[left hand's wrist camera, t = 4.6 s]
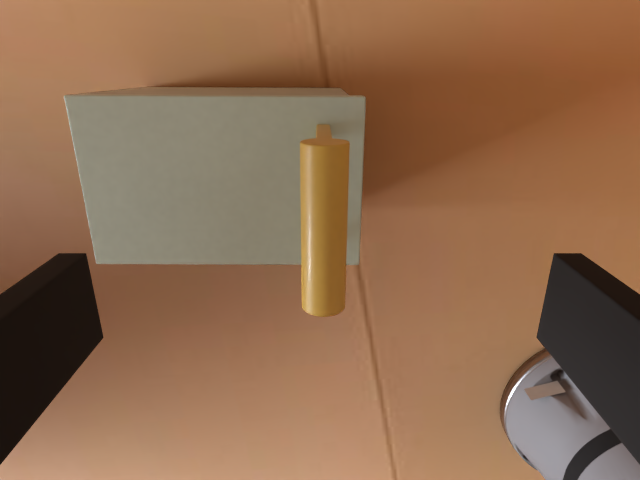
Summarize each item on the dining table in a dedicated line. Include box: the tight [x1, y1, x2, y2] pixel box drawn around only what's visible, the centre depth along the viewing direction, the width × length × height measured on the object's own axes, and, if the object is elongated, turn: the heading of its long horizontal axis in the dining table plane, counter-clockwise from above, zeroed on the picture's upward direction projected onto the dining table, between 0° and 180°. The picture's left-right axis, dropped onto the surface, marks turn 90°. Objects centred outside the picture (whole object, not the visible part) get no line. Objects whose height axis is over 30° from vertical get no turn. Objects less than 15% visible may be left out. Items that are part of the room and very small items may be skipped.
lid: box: [64, 94, 366, 317], centre depth 21 cm, size 15×9×9 cm, turn 90°
